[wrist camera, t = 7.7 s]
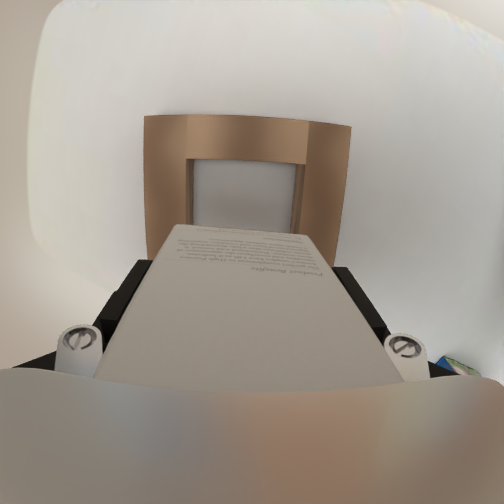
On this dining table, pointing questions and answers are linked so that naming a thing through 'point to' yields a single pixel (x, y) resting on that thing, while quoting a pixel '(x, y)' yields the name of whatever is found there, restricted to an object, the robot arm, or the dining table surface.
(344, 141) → the wooden square frame
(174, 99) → the dining table surface
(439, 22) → the dining table surface
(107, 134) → the dining table surface
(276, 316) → the skincare box
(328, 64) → the dining table surface
